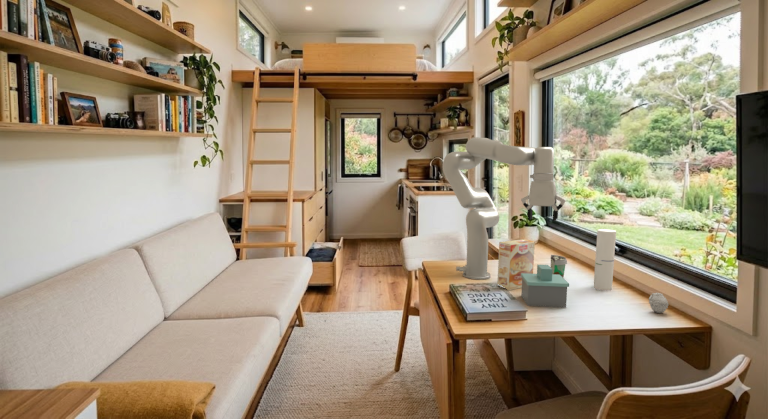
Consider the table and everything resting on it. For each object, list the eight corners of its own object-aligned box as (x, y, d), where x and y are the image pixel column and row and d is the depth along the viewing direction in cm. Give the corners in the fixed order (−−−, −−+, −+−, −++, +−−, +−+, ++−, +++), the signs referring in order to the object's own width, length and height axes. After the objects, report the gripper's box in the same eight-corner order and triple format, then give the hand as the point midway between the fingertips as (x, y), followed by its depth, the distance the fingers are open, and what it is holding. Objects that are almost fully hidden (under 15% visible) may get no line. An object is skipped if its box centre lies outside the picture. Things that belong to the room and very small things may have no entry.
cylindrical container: (610, 291, 193) (615, 232, 190) (592, 288, 197) (596, 230, 194) (612, 287, 199) (617, 230, 196) (594, 284, 203) (598, 228, 200)
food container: (568, 283, 204) (569, 261, 203) (553, 282, 206) (555, 260, 204) (563, 276, 216) (564, 255, 215) (549, 275, 218) (550, 254, 216)
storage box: (527, 305, 174) (528, 284, 173) (521, 295, 186) (522, 276, 185) (566, 307, 172) (567, 286, 171) (557, 297, 184) (558, 277, 183)
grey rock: (659, 309, 172) (661, 290, 171) (672, 315, 165) (673, 296, 164) (643, 309, 172) (645, 290, 171) (655, 315, 165) (657, 296, 164)
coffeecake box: (509, 290, 192) (511, 244, 190) (496, 286, 198) (498, 241, 196) (533, 285, 200) (535, 241, 198) (520, 281, 206) (522, 238, 204)
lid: (527, 287, 172) (528, 270, 172) (520, 278, 185) (521, 262, 184) (568, 289, 171) (570, 271, 170) (559, 279, 184) (560, 263, 183)
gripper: (519, 177, 189) (518, 219, 190) (563, 178, 179) (562, 222, 181) (524, 177, 195) (523, 217, 197) (567, 177, 185) (566, 220, 187)
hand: (542, 219), depth 189 cm, fingers open, 9 cm apart
